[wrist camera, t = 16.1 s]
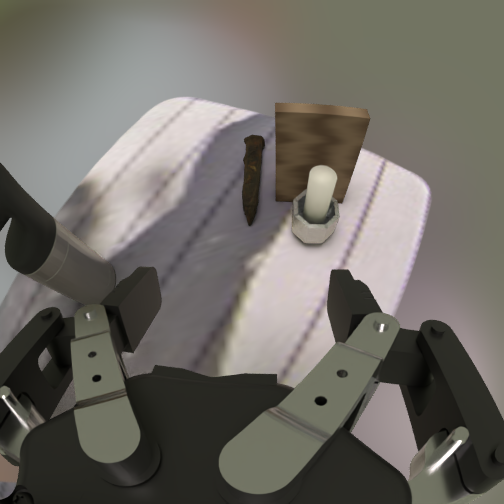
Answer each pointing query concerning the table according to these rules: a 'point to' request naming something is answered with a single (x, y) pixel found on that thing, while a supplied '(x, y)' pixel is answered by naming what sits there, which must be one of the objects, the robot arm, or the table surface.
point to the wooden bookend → (316, 145)
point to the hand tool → (252, 175)
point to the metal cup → (313, 231)
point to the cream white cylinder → (319, 194)
